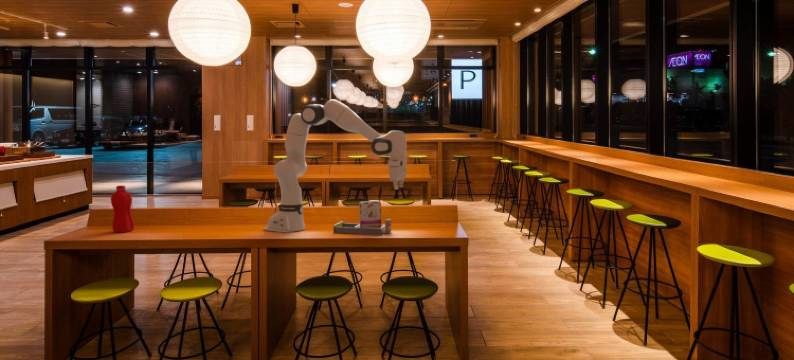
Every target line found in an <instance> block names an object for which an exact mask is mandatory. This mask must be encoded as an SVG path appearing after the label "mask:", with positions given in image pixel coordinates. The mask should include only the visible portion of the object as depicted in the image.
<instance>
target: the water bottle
mask: <svg viewBox="0 0 794 360" xmlns="http://www.w3.org/2000/svg"><path fill="white" fill-rule="evenodd" d="M115 188H116V191H114V193H112V194H111V196H110V203H111V204H110V205H111V207H112V209H113V217H112V218H113V219H112V231H113V232H114V233H128V232H132V231H134V229H135V223H134V219H133V217H132V214H131V210H132V209H133V197H132V194H131V193H130V192H129V191H127V190H126V186H125V185H117V186H116V187H115Z"/></svg>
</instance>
